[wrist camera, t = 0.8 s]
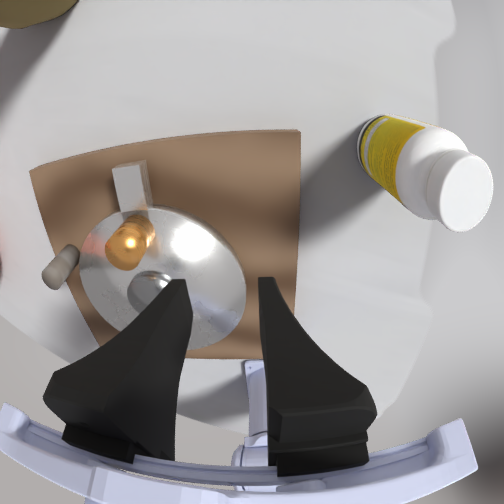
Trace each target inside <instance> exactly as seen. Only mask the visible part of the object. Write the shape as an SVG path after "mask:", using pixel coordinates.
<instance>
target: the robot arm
mask: <svg viewBox="0 0 504 504" xmlns="http://www.w3.org/2000/svg"><path fill="white" fill-rule="evenodd" d="M258 299H259V325H260V339H261V347H262V354H263V360H249V361H246V362H245V373H246V382H247V391H248V399H249V437H245V442H244V445H239V446H238V448H237V449H236V450H235V451H234V453H233V456H232V461H231V466H217V465H203V464H192V463H184V462H176V461H175V420H176V407H177V397H178V388H179V381H180V376H181V371H182V367H183V363H184V359H185V355H186V351H187V348H188V344H189V340H190V335H191V329H192V321H193V310H192V306H191V301H190V297H189V293H188V289H187V284H186V280H185V279H172V280H171V281H170V282H169V283H168V284H167V285H166V286H165V287H164V288H163V289H162V290H161V292H160V293H159V294H158V295H157V296H156V297H155V298H154V299H153V300H152V302H151V303H150V304H149V305H148V306H147V307H146V308H145V309H144V310H143V311H142V312H141V313H140V314H139V315H138V316H137V317H136V318H135V319H134V320H133V321H132V322H131V323H130V324H129V325H128V326H127V327H125V328H124V329H123V330H122V331H121V332H120V333H118V334H117V335H116V336H115V337H113V338H112V339H111V340H109V341H108V342H107V343H105V344H104V345H102V346H101V347H99V348H98V349H97V350H95V351H94V352H92V353H90V354H89V355H87V356H85V357H83V358H82V359H80V360H78V361H76V362H74V363H72V364H70V365H68V366H66V367H64V368H62V369H60V370H57V371H55V372H54V373H53V375H52V377H51V379H50V382H49V384H48V386H47V388H46V390H45V393H44V395H43V400H44V402H45V404H46V405H47V406H48V408H49V409H50V410H51V411H52V412H54V413H55V414H56V415H57V416H58V417H59V418H60V419H61V420H62V421H64V422H65V423H66V426H65V430H64V432H63V433H61V432H59V431H57V430H54V429H52V428H49V427H47V426H44V425H42V424H40V423H38V422H36V421H33V420H31V419H30V418H29V417H28V416H27V415H26V414H25V413H24V412H22V411H21V410H20V409H18V408H16V407H14V406H12V405H10V404H8V403H6V402H4V404H3V407H2V409H1V411H0V451H2V452H3V453H4V454H6V455H7V456H9V457H11V458H12V459H14V460H15V461H17V462H18V463H20V464H21V465H23V466H25V467H26V468H28V469H30V470H31V471H33V472H35V473H36V474H38V475H40V476H42V477H44V478H46V479H48V480H50V481H52V482H54V483H56V484H57V485H59V486H62V487H64V488H66V489H68V490H70V491H72V492H75V493H77V494H79V495H82V496H84V497H86V498H85V503H84V504H405V503H408V502H411V501H413V500H416V499H418V498H421V497H423V496H425V495H428V494H430V493H433V492H435V491H437V490H440V489H441V488H444V487H446V486H448V485H450V484H452V483H454V482H456V481H458V480H460V479H462V478H464V477H466V476H467V475H469V474H471V473H473V472H475V471H476V470H477V469H478V466H477V463H476V459H475V456H474V452H473V449H472V446H471V443H470V440H469V437H468V434H467V431H466V428H465V426H464V423H463V420H462V419H461V418H459V419H457V420H454V421H452V422H450V423H447V424H445V425H442V426H440V427H438V428H436V429H434V430H432V431H431V432H430V433H429V434H428V435H427V436H426V437H424V438H422V439H419V440H416V441H412V442H409V443H406V444H403V445H400V446H396V447H392V448H389V449H385V450H381V451H377V452H373V453H368V450H367V446H366V442H367V441H368V436H367V431H366V430H367V429H368V427H369V426H370V425H371V424H372V423H373V421H374V420H375V418H376V416H377V410H376V406H375V403H374V400H373V398H372V396H371V394H370V392H369V390H368V388H367V386H366V385H365V384H363V383H362V382H360V381H359V380H357V379H356V378H354V377H353V376H352V375H350V374H349V373H348V372H346V371H345V370H344V369H343V368H341V367H340V366H339V365H338V364H336V363H335V362H334V361H333V360H332V359H331V358H330V357H329V356H328V355H327V354H326V353H325V352H324V351H322V350H321V349H320V347H319V346H318V345H317V344H316V343H315V342H314V341H313V340H312V339H311V338H310V336H309V335H308V334H307V333H306V332H305V330H304V329H303V328H302V326H301V325H300V324H299V322H298V321H297V319H296V318H295V316H294V315H293V313H292V312H291V310H290V309H289V307H288V305H287V304H286V302H285V300H284V298H283V296H282V294H281V292H280V290H279V288H278V286H277V283H276V280H275V278H274V277H258ZM118 468H119V469H118ZM120 469H123V470H126V471H131V472H135V473H139V474H143V475H148V476H153V477H159V478H164V479H170V480H176V481H184V482H191V483H201V484H212V485H227V486H234V489H235V490H223V489H213V488H206V487H201V486H194V485H187V484H181V483H174V482H168V481H162V480H157V479H151V478H147V477H142V476H138V475H134V474H130V473H126V472H125V471H123V470H120Z"/></svg>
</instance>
